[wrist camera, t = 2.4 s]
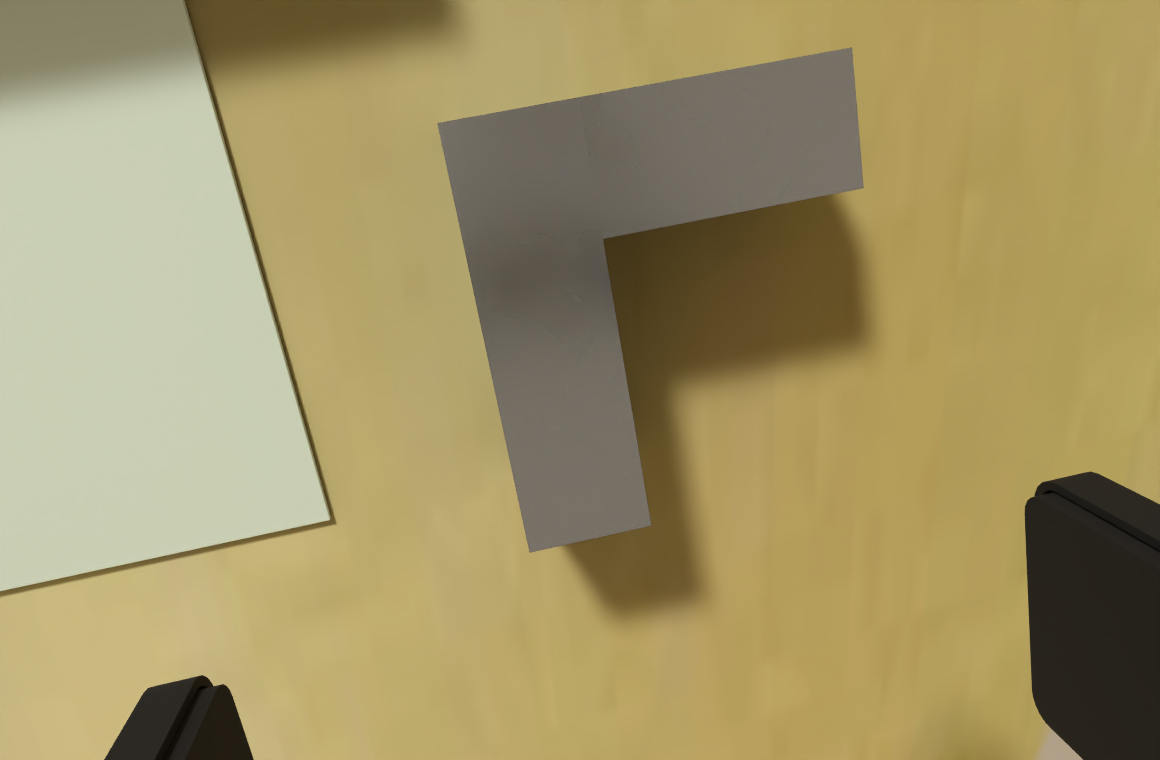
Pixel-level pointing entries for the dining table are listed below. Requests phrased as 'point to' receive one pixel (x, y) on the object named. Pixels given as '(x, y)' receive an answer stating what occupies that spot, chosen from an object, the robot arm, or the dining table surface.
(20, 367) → the mat
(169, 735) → the robot arm
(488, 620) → the dining table surface
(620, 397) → the bracket
